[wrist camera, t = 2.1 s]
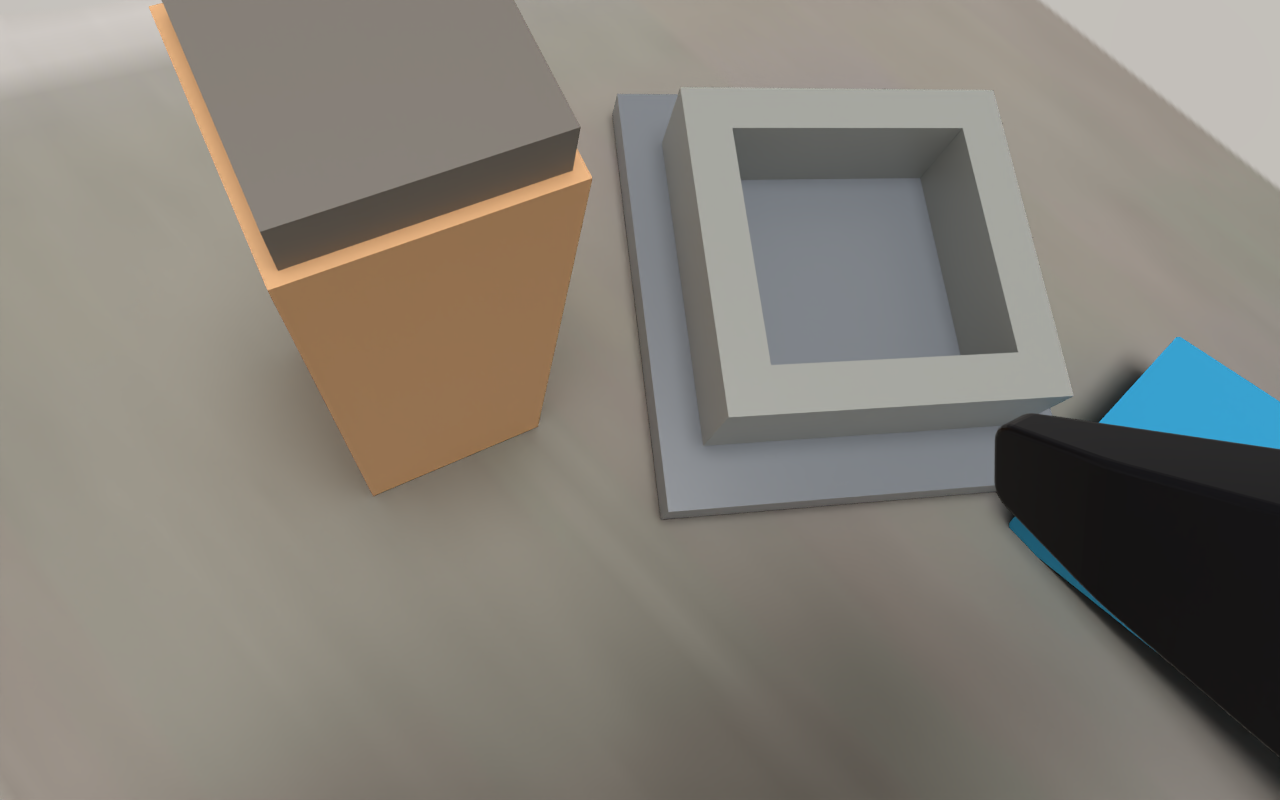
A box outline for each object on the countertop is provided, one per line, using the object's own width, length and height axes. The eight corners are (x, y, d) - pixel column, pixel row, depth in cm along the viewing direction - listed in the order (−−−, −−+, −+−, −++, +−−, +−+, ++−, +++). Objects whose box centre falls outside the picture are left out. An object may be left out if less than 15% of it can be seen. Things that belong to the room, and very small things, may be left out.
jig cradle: (1046, 487, 25) (1130, 455, 22) (661, 519, 23) (691, 490, 20) (955, 116, 29) (1016, 41, 26) (612, 115, 27) (631, 34, 24)
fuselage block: (537, 426, 24) (601, 135, 11) (373, 496, 22) (249, 252, 10) (469, 281, 25) (461, -131, 12) (307, 341, 23) (121, -52, 11)
